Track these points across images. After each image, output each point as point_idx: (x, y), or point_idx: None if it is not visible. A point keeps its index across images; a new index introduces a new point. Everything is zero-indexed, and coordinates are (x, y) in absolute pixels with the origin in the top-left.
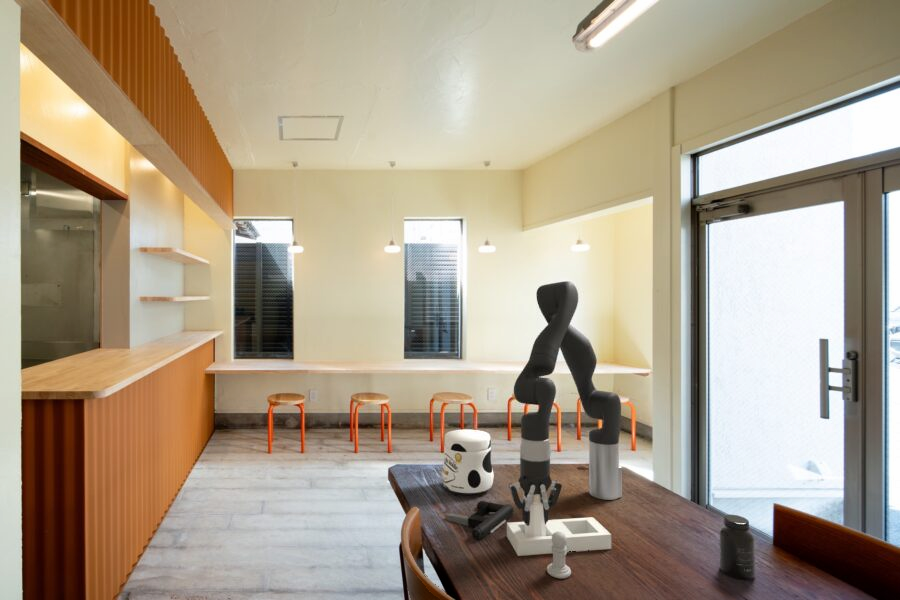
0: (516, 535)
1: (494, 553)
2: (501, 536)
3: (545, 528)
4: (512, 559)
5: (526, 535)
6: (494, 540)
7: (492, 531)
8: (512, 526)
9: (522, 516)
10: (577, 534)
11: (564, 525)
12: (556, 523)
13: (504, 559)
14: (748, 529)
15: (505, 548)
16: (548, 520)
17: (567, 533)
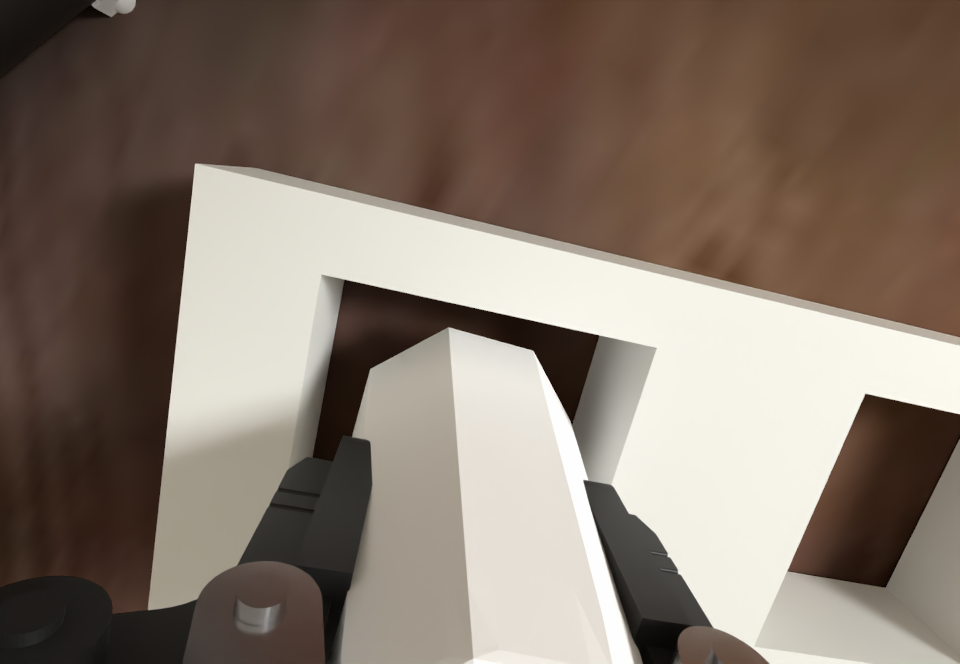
0: (180, 511)
1: (11, 423)
2: (199, 144)
3: (624, 398)
4: (141, 550)
5: (352, 436)
6: (90, 198)
7: (123, 2)
8: (228, 295)
9: (275, 493)
10: (790, 661)
11: (824, 477)
12: (783, 411)
13: (72, 531)
14: None
15: (148, 379)
16: (757, 309)
17: (721, 622)
